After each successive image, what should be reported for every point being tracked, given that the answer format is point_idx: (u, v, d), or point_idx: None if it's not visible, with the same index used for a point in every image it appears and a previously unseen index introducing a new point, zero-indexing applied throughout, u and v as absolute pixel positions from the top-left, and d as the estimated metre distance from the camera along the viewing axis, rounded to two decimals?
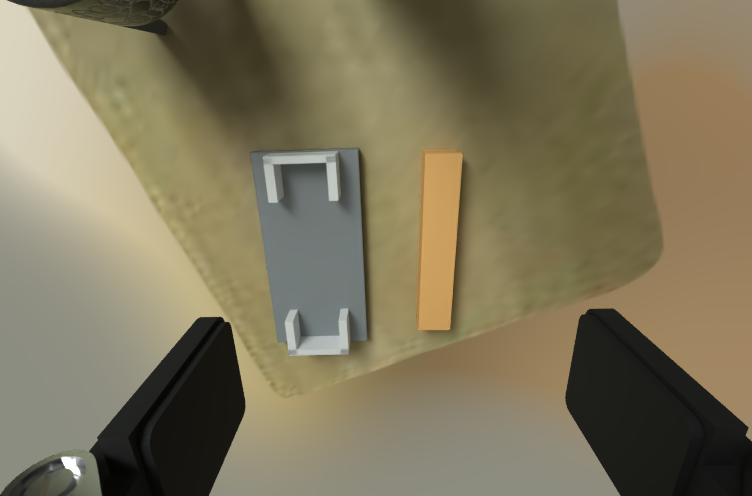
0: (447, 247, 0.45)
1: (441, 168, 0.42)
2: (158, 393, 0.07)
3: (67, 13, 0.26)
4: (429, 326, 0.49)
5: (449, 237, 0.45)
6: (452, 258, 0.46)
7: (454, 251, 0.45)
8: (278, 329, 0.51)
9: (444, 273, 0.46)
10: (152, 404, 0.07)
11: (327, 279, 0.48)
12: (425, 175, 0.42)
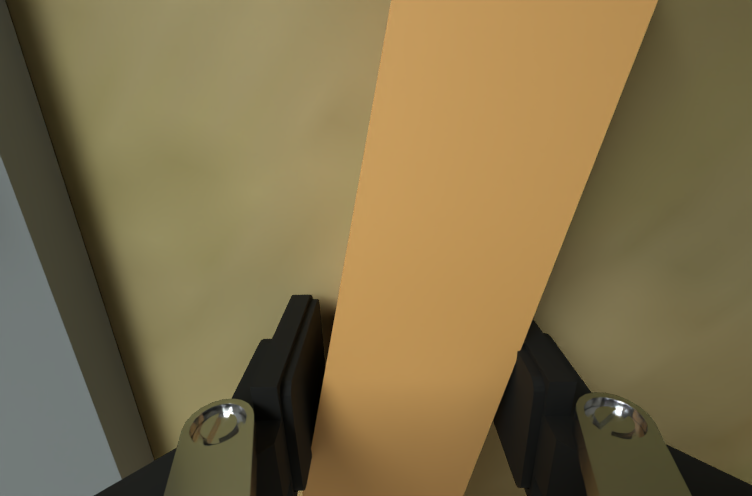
0: (455, 404, 0.09)
1: None
2: (286, 354, 0.08)
3: None
4: None
5: (475, 359, 0.08)
6: (466, 452, 0.09)
7: (484, 426, 0.09)
8: None
9: None
10: (285, 363, 0.08)
11: None
12: None
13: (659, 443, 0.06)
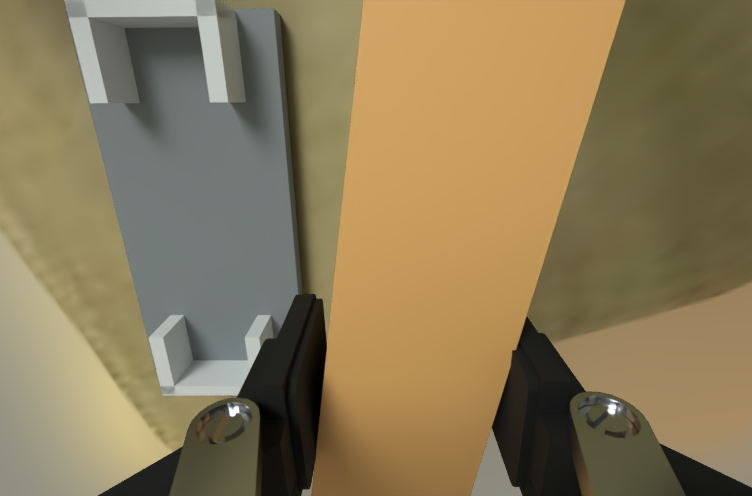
0: (456, 403, 0.09)
1: None
2: (290, 354, 0.08)
3: None
4: None
5: (472, 357, 0.08)
6: (470, 451, 0.09)
7: (486, 424, 0.09)
8: None
9: None
10: (290, 362, 0.08)
11: (231, 263, 0.28)
12: None
13: (652, 441, 0.06)
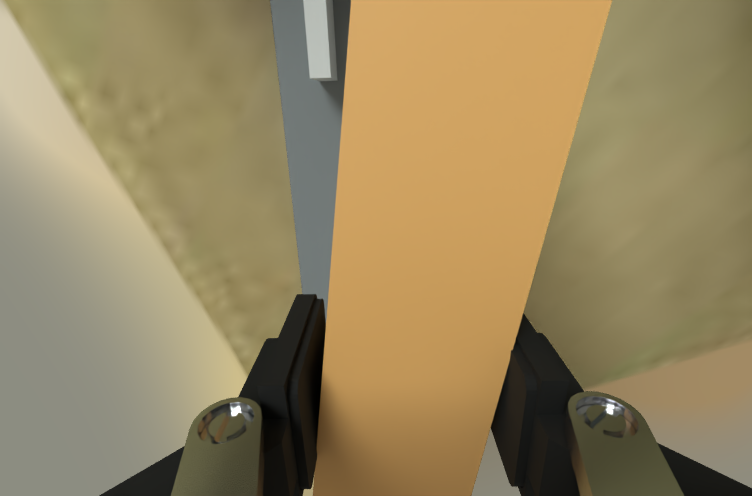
0: (454, 405, 0.09)
1: None
2: (292, 353, 0.08)
3: None
4: None
5: (468, 359, 0.08)
6: (470, 452, 0.09)
7: (485, 425, 0.09)
8: None
9: None
10: (292, 361, 0.08)
11: None
12: None
13: (650, 441, 0.06)
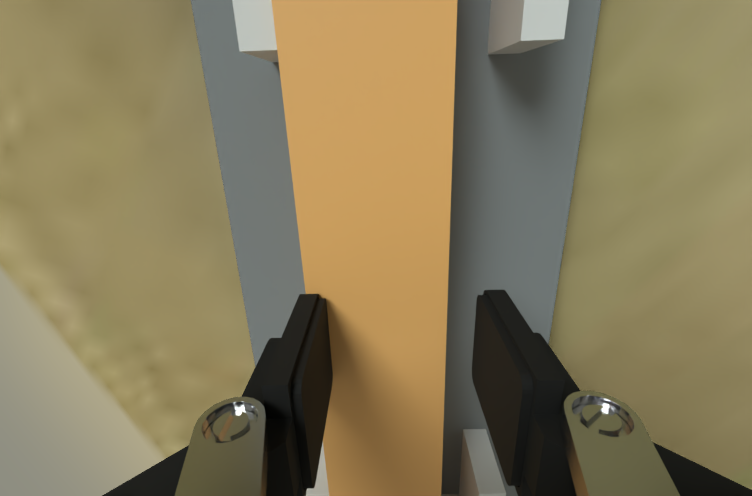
0: (413, 334, 0.11)
1: None
2: (295, 353, 0.08)
3: None
4: None
5: (416, 295, 0.11)
6: (434, 371, 0.12)
7: (441, 347, 0.11)
8: None
9: (406, 420, 0.13)
10: (295, 361, 0.08)
11: None
12: (277, 6, 0.08)
13: (645, 440, 0.06)
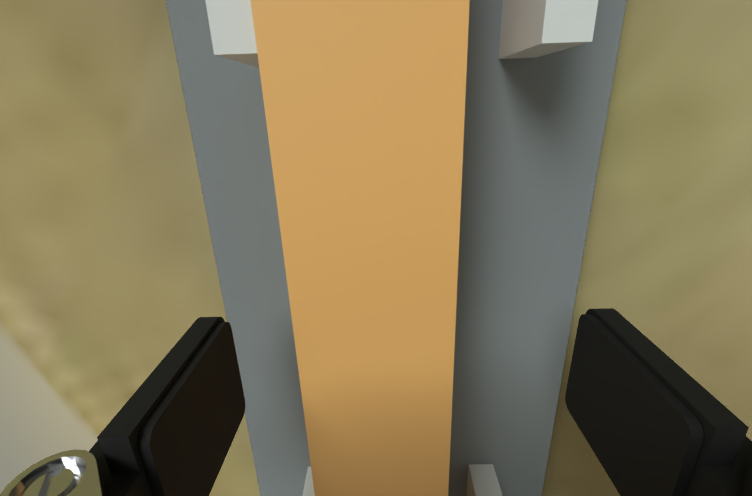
0: (416, 375, 0.10)
1: None
2: (158, 393, 0.07)
3: None
4: None
5: (419, 333, 0.10)
6: (440, 415, 0.10)
7: (447, 389, 0.10)
8: None
9: (407, 468, 0.11)
10: (152, 404, 0.07)
11: None
12: (257, 2, 0.07)
13: None
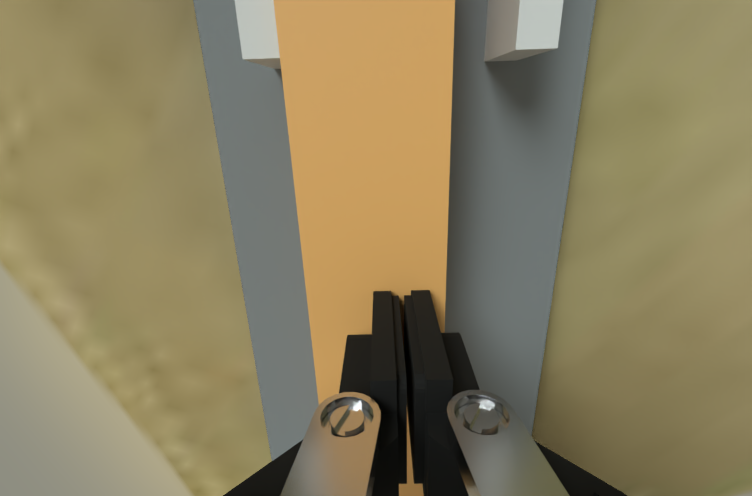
0: None
1: None
2: (391, 349, 0.08)
3: None
4: None
5: None
6: None
7: None
8: None
9: None
10: (394, 357, 0.08)
11: None
12: (280, 17, 0.09)
13: (521, 428, 0.06)
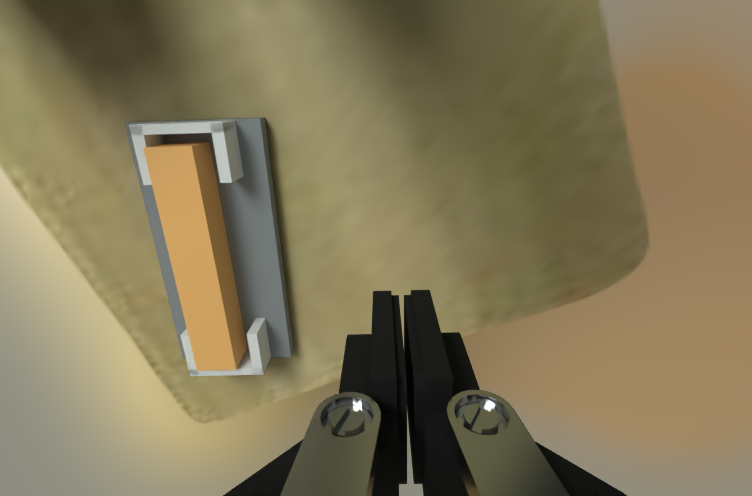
0: (205, 268, 0.35)
1: (168, 166, 0.32)
2: (391, 349, 0.08)
3: None
4: (209, 366, 0.39)
5: (203, 255, 0.35)
6: (215, 281, 0.36)
7: (215, 273, 0.35)
8: None
9: (209, 300, 0.36)
10: (395, 357, 0.08)
11: (235, 282, 0.39)
12: (151, 176, 0.32)
13: (521, 429, 0.06)
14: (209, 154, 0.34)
